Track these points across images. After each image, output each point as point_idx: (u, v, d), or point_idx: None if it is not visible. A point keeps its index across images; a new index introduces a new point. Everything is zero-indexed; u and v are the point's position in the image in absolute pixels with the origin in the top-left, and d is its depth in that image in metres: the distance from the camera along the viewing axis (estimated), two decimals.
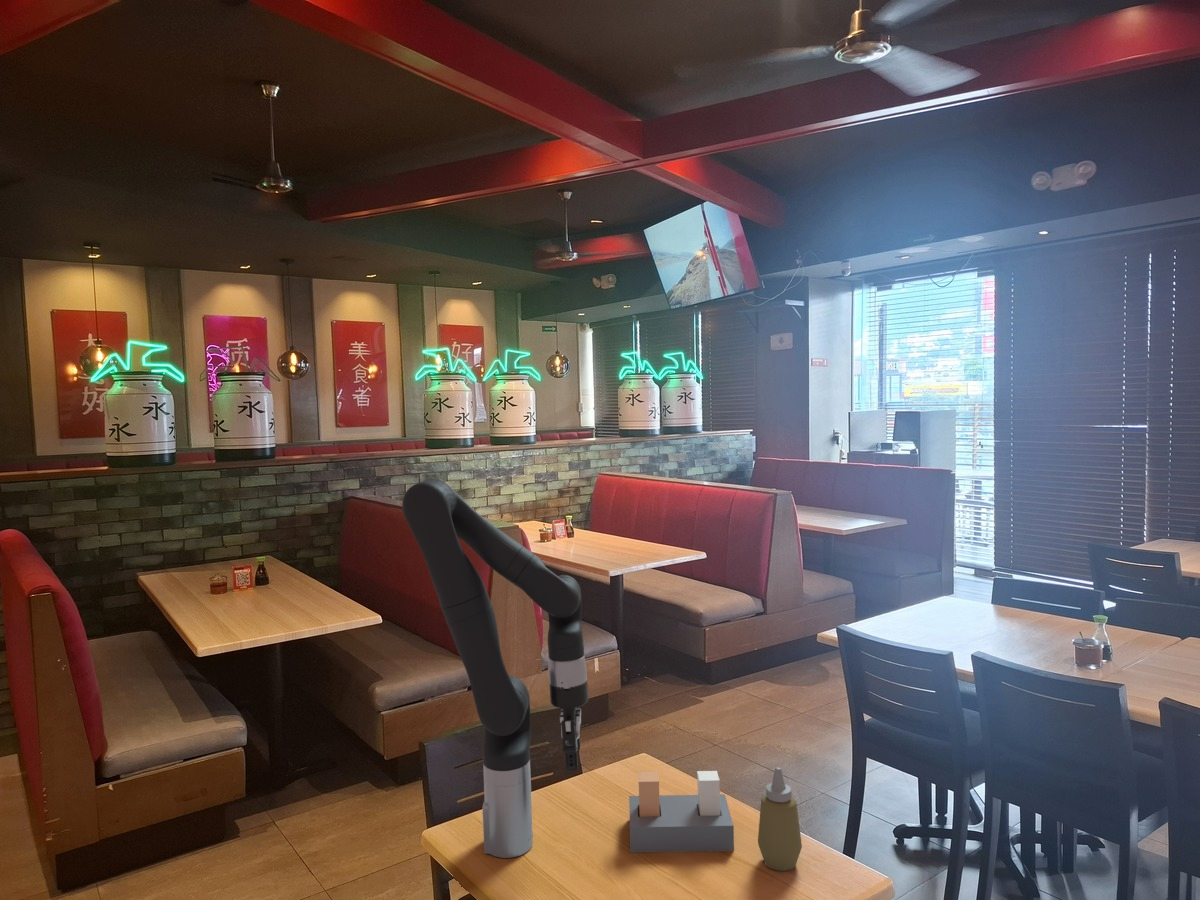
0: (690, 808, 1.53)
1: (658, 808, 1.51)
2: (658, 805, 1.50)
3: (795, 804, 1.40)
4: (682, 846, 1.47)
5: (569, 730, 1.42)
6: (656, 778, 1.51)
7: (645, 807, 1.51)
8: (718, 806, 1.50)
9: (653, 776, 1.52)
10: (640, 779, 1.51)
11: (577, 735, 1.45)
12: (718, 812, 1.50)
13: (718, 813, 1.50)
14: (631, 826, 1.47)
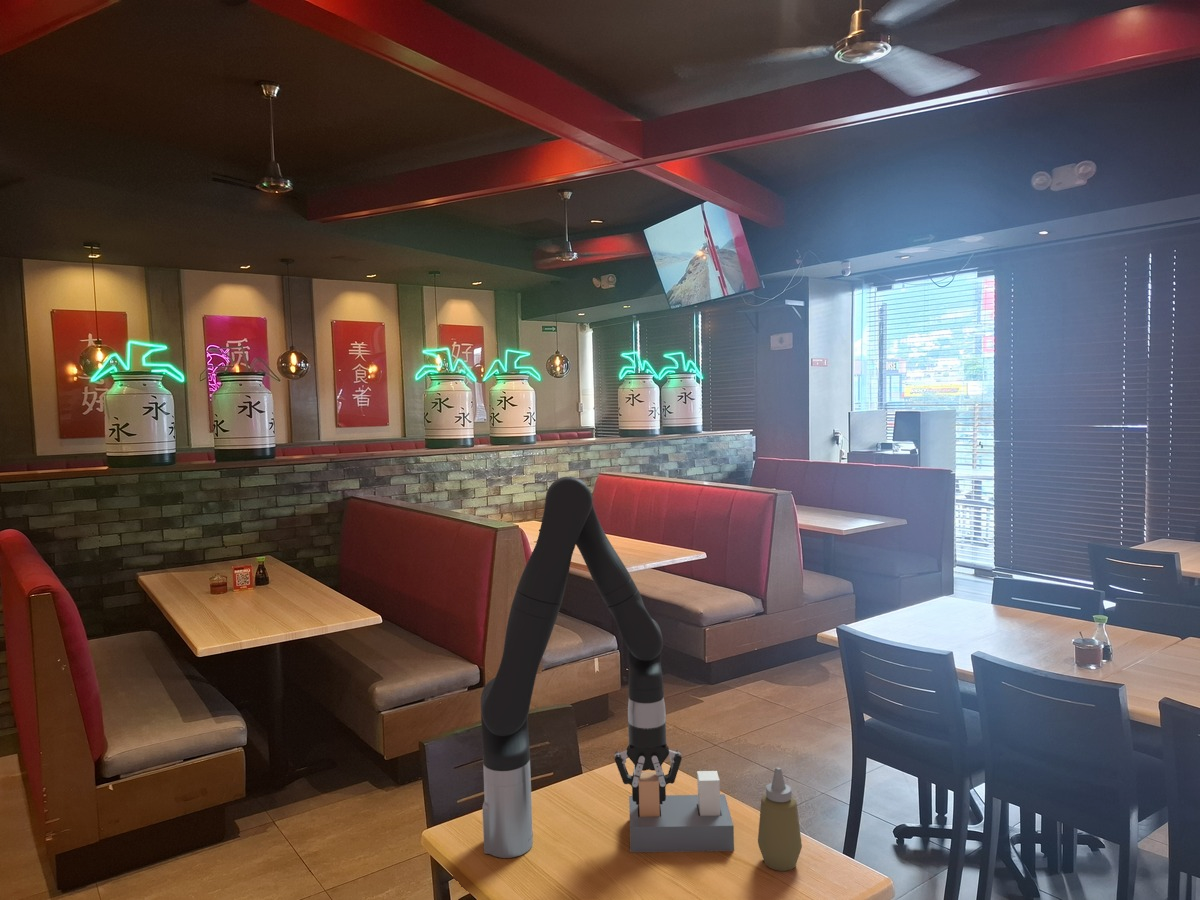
0: (690, 808, 1.53)
1: (658, 808, 1.51)
2: (658, 805, 1.50)
3: (795, 804, 1.40)
4: (682, 846, 1.47)
5: None
6: (656, 778, 1.51)
7: (645, 807, 1.51)
8: (718, 806, 1.50)
9: (653, 776, 1.52)
10: (640, 779, 1.51)
11: (661, 767, 1.54)
12: (718, 812, 1.50)
13: (718, 813, 1.50)
14: (631, 826, 1.47)
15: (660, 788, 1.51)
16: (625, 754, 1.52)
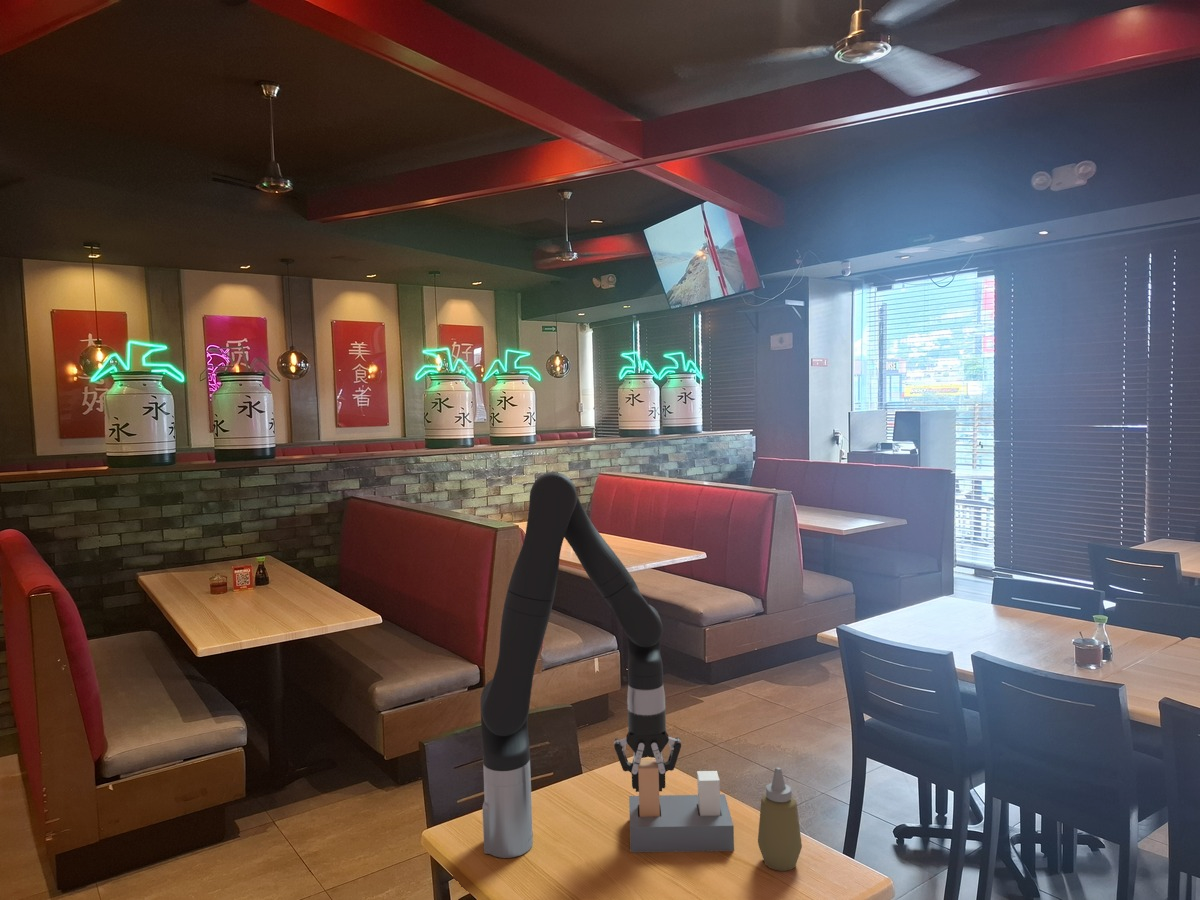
0: (690, 808, 1.53)
1: (658, 795, 1.50)
2: (658, 792, 1.50)
3: (795, 804, 1.40)
4: (682, 846, 1.47)
5: None
6: (656, 765, 1.51)
7: (645, 794, 1.50)
8: (718, 806, 1.50)
9: (653, 763, 1.52)
10: (640, 766, 1.51)
11: (661, 754, 1.53)
12: (718, 812, 1.50)
13: (718, 813, 1.50)
14: (631, 826, 1.47)
15: (660, 775, 1.51)
16: (625, 741, 1.52)
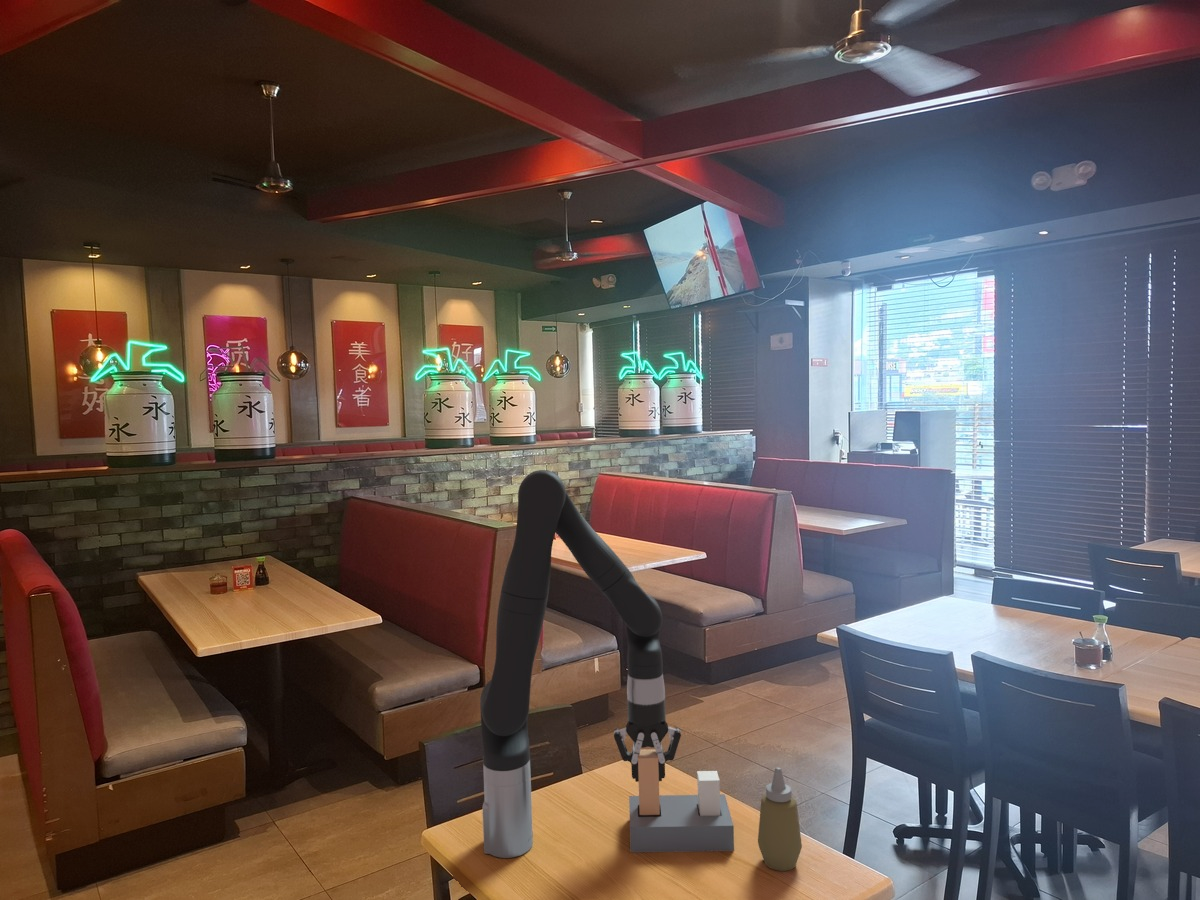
0: (690, 808, 1.53)
1: (657, 785, 1.50)
2: (657, 782, 1.50)
3: (795, 804, 1.40)
4: (682, 846, 1.47)
5: None
6: (655, 755, 1.51)
7: (644, 784, 1.50)
8: (718, 806, 1.50)
9: (652, 753, 1.52)
10: (639, 756, 1.51)
11: (660, 744, 1.53)
12: (718, 812, 1.50)
13: (718, 813, 1.50)
14: (631, 826, 1.47)
15: (659, 765, 1.51)
16: (624, 731, 1.52)
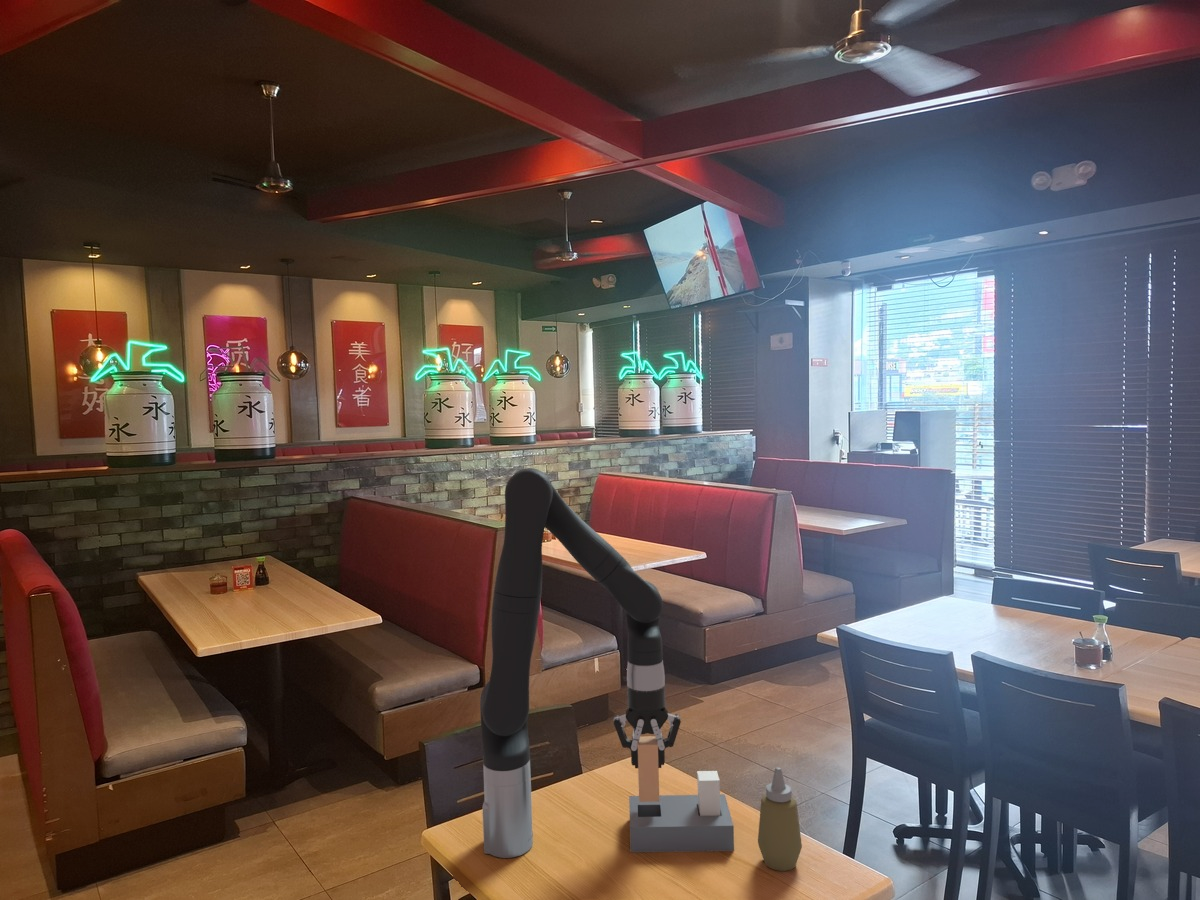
0: (690, 808, 1.53)
1: (657, 771, 1.50)
2: (657, 768, 1.50)
3: (795, 804, 1.40)
4: (682, 846, 1.47)
5: None
6: (655, 742, 1.51)
7: (644, 770, 1.50)
8: (718, 806, 1.50)
9: (652, 740, 1.52)
10: (639, 743, 1.51)
11: (660, 731, 1.53)
12: (718, 812, 1.50)
13: (718, 813, 1.50)
14: (631, 826, 1.47)
15: (659, 752, 1.51)
16: (624, 718, 1.51)
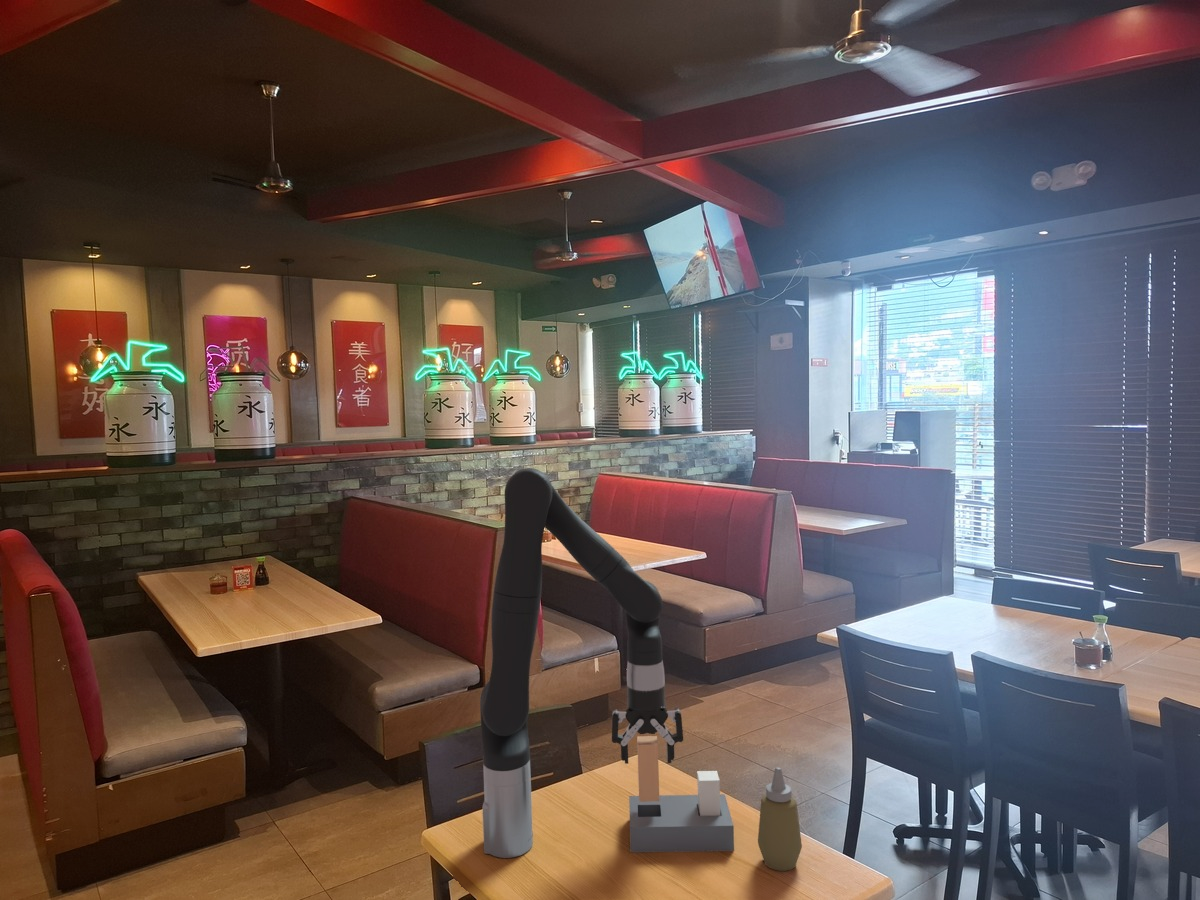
0: (690, 808, 1.53)
1: (657, 771, 1.50)
2: (657, 768, 1.50)
3: (795, 804, 1.40)
4: (682, 846, 1.47)
5: None
6: (655, 741, 1.51)
7: (644, 770, 1.50)
8: (718, 806, 1.50)
9: (652, 740, 1.52)
10: (639, 742, 1.51)
11: (666, 727, 1.53)
12: (718, 812, 1.50)
13: (718, 813, 1.50)
14: (631, 826, 1.47)
15: (669, 747, 1.51)
16: (624, 715, 1.51)
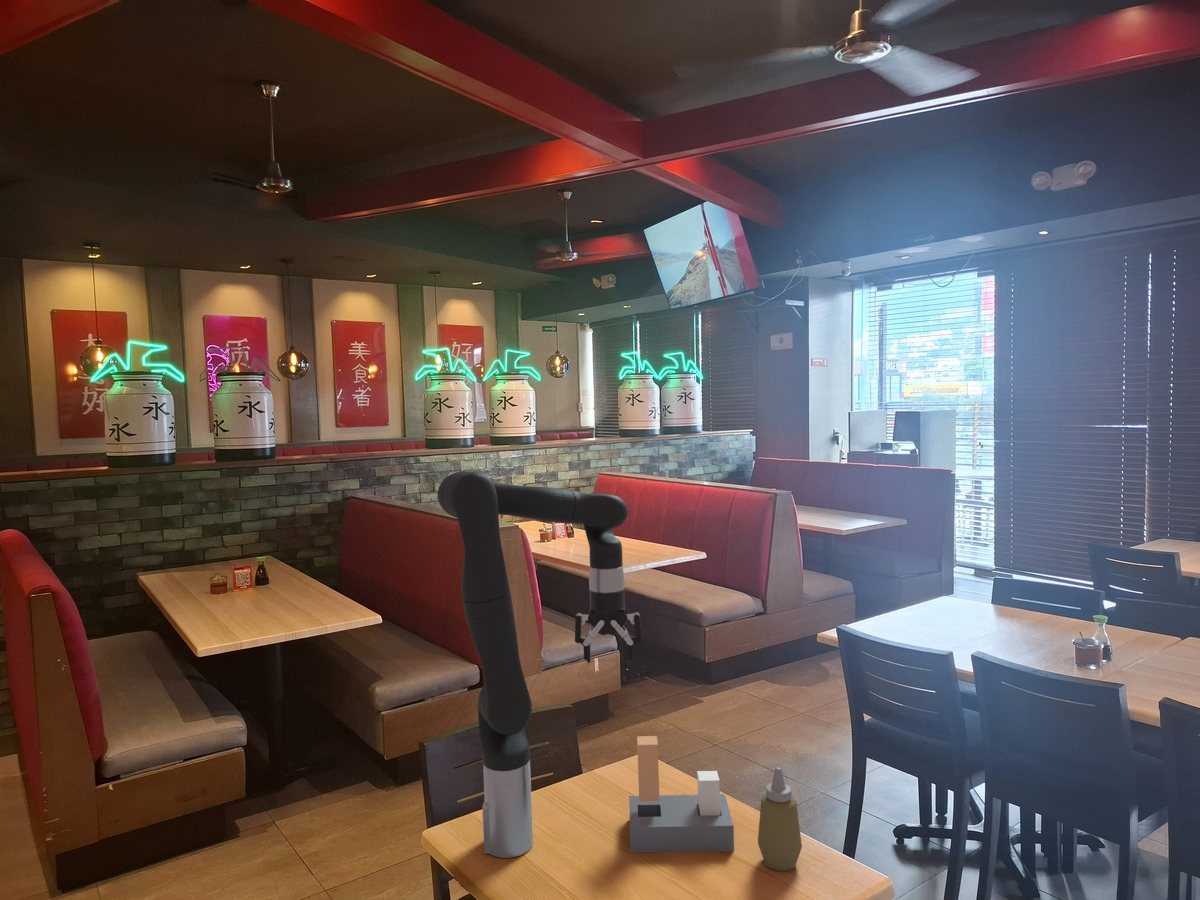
0: (690, 808, 1.53)
1: (657, 771, 1.50)
2: (657, 768, 1.50)
3: (795, 804, 1.40)
4: (682, 846, 1.47)
5: None
6: (655, 741, 1.51)
7: (644, 770, 1.50)
8: (718, 806, 1.50)
9: (652, 740, 1.52)
10: (639, 742, 1.51)
11: (626, 629, 1.64)
12: (718, 812, 1.50)
13: (718, 813, 1.50)
14: (631, 826, 1.47)
15: (628, 647, 1.62)
16: (586, 617, 1.62)
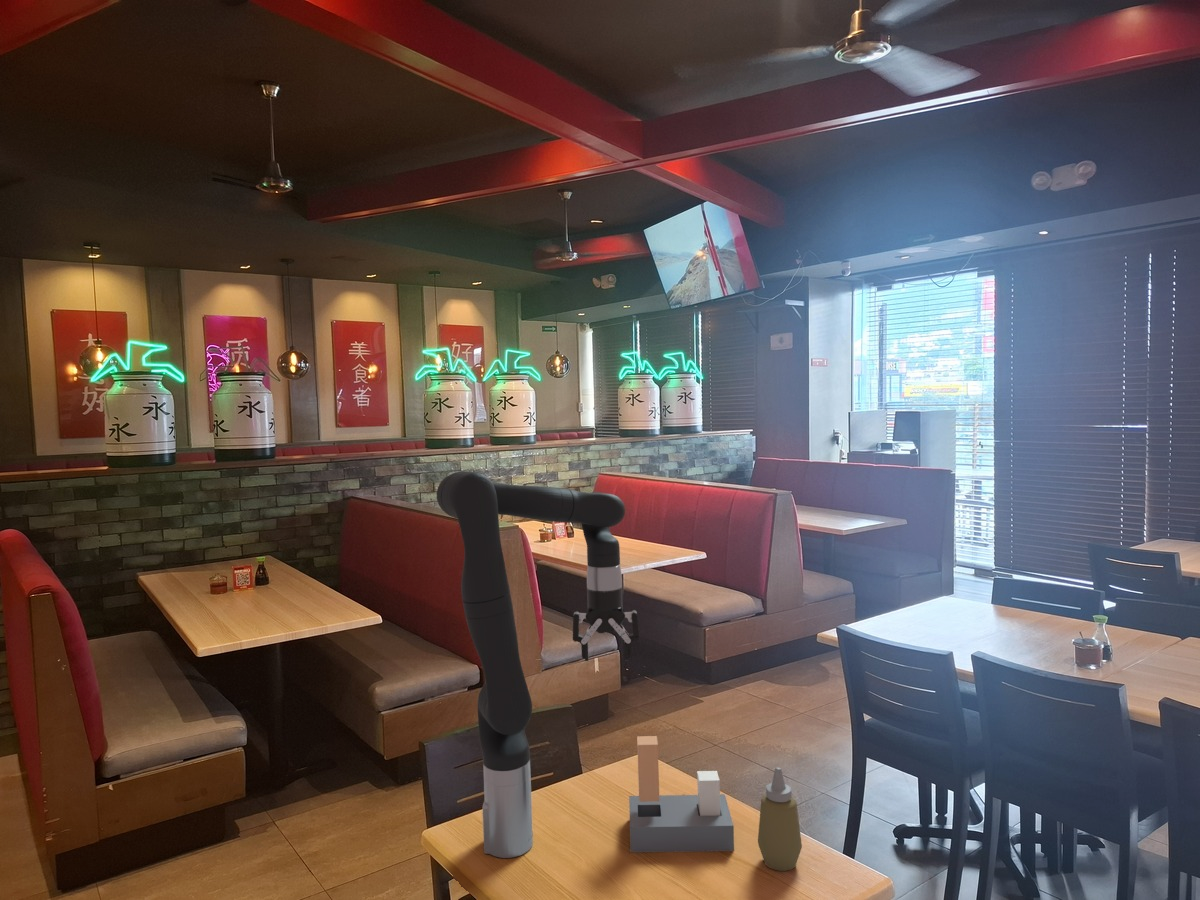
0: (690, 808, 1.53)
1: (657, 771, 1.50)
2: (657, 768, 1.50)
3: (795, 804, 1.40)
4: (682, 846, 1.47)
5: None
6: (655, 741, 1.51)
7: (644, 770, 1.50)
8: (718, 806, 1.50)
9: (652, 740, 1.52)
10: (639, 742, 1.51)
11: (623, 628, 1.65)
12: (718, 812, 1.50)
13: (718, 813, 1.50)
14: (631, 826, 1.47)
15: (626, 645, 1.62)
16: (584, 615, 1.63)
